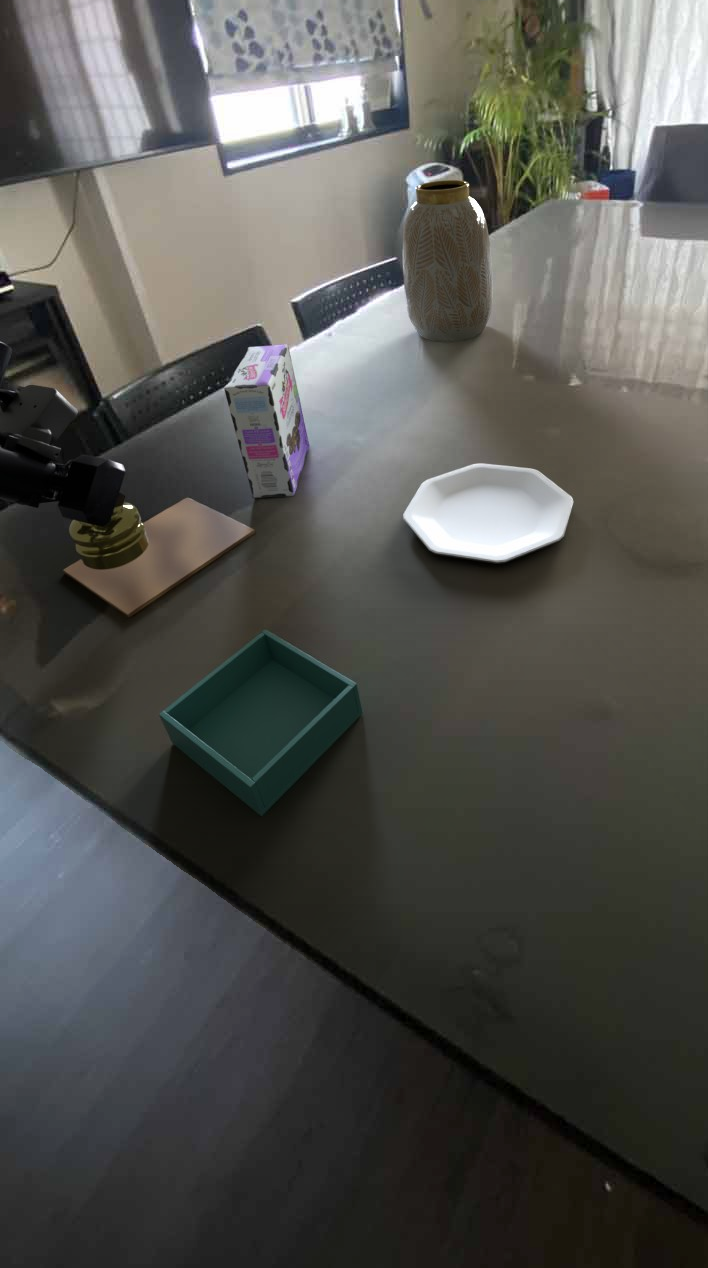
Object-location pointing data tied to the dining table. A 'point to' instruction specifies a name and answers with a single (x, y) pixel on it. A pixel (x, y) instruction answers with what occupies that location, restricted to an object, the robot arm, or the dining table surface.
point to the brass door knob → (111, 539)
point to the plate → (489, 513)
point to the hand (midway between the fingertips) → (106, 496)
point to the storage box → (262, 718)
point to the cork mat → (164, 556)
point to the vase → (447, 263)
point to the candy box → (268, 420)
